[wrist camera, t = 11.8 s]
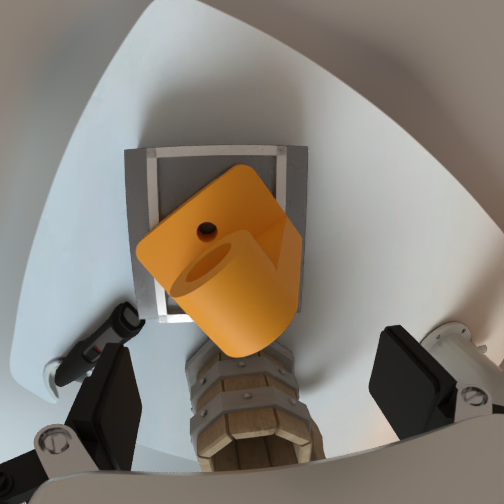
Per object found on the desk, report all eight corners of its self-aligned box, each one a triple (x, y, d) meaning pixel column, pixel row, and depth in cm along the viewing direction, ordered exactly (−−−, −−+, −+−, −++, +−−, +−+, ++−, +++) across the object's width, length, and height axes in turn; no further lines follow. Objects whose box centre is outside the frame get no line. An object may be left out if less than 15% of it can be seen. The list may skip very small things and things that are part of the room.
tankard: (168, 380, 37) (158, 478, 23) (233, 311, 35) (252, 406, 21) (282, 438, 43) (306, 519, 28) (345, 386, 41) (390, 465, 27)
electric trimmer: (53, 361, 35) (44, 376, 32) (125, 297, 33) (118, 310, 30) (73, 380, 36) (66, 395, 33) (149, 321, 34) (144, 335, 31)
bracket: (242, 158, 25) (271, 162, 14) (293, 229, 27) (352, 284, 16) (137, 240, 26) (91, 304, 14) (192, 303, 28) (187, 396, 17)
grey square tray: (292, 147, 31) (310, 146, 25) (288, 291, 35) (302, 315, 30) (136, 150, 29) (121, 149, 23) (147, 296, 33) (137, 323, 28)
